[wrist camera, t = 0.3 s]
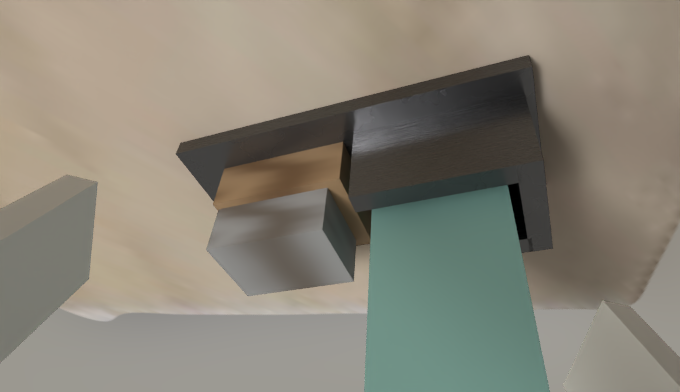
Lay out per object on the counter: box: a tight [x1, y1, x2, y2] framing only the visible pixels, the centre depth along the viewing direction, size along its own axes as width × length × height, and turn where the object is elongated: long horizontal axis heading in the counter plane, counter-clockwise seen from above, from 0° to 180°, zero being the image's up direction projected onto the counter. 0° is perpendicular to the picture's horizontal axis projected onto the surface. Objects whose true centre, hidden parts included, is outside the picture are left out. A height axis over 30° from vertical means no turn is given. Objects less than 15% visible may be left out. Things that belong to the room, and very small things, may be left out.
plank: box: [364, 185, 550, 392], centre depth 24 cm, size 7×4×20 cm, turn 110°
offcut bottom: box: [213, 142, 372, 246], centre depth 32 cm, size 8×6×3 cm
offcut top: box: [206, 188, 356, 296], centre depth 30 cm, size 7×5×3 cm
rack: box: [176, 55, 553, 253], centre depth 31 cm, size 21×10×6 cm, turn 110°
